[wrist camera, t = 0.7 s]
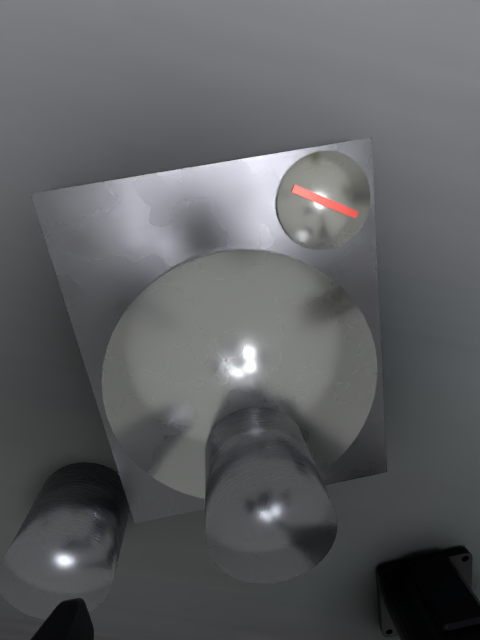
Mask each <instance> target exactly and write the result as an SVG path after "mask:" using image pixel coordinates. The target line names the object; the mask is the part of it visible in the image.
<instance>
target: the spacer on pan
mask: <svg viewBox="0 0 480 640" xmlns="http://www.w3.org/2000/svg"><path fill="white" fill-rule="evenodd" d="M205 508H206V545H207V549H208V552H209V555H210V557H211V559H212V560H213V562H214V563H215V564H216V566H217V567H218V568H220V569H221V570H222V571H223V572H224V573H226V574H227V575H229V576H231V577H233V578H235V579H238V580H240V581H244V582H248V583H254V584H273V583H279V582H284V581H287V580H290V579H293V578H296V577H298V576H300V575H302V574H304V573H306V572H307V571H309V570H311V569H312V568H313V567H315V566H316V565H317V564H318V563H319V562H320V561H321V560H322V559H323V558H324V557H325V556H326V555H327V553H328V552H329V550H330V549H331V547H332V545H333V543H334V540H335V537H336V533H337V517H336V513H335V510H334V508H333V505H332V503H331V501H330V498H329V496H328V494H327V491H326V489H325V487H324V484H323V482H322V480H321V477H320V475H319V473H318V470H317V468H316V466H315V463H314V461H313V459H312V456H311V454H310V452H309V449H308V447H307V445H306V442H305V440H304V438H303V435H302V433H301V431H300V429H299V427H298V426H297V424H296V423H295V422H294V421H293V420H292V419H291V418H290V417H289V416H287V415H286V414H284V413H282V412H280V411H278V410H275V409H272V408H267V407H250V408H245V409H241V410H238V411H235V412H233V413H231V414H229V415H228V416H226V417H225V418H223V419H222V420H221V421H220V422H219V423H218V424H217V425H216V426H215V427H214V428H213V430H212V431H211V433H210V435H209V437H208V439H207V442H206V446H205Z"/></svg>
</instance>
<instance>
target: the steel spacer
mask: <svg viewBox="0 0 480 640" xmlns="http://www.w3.org/2000/svg"><path fill="white" fill-rule="evenodd" d="M129 509H130V507H129V504H128V501H127V497H126V494H125V491H124V488H123V485H122V482H121V479H120V475H119V474H118V473H117V472H115V471H114V470H112V469H110V468H108V467H106V466H103V465H100V464H95V463H75V464H71V465H67V466H65V467H62V468H61V469H59V470H57V471H56V472H54V473H53V474H52V475H51V476H50V477H49V478H48V479H47V481H46V483H45V484H44V486H43V488H42V490H41V492H40V493H39V495H38V497H37V499H36V501H35V502H34V504H33V506H32V508H31V510H30V512H29V513H28V515H27V517H26V519H25V521H24V522H23V524H22V526H21V528H20V530H19V531H18V533H17V535H16V537H15V539H14V541H13V542H12V544H11V546H10V548H9V550H8V551H7V553H6V555H5V557H4V559H3V561H2V562H1V564H0V592H1V593H2V595H3V597H4V598H5V599H6V600H7V602H8V603H10V604H11V605H12V606H13V607H14V608H16V609H17V610H19V611H21V612H23V613H25V614H27V615H30V616H33V617H36V618H41V619H47V618H48V617H49V615H50V614H51V613H52V612H53V610H54V609H55V608H56V606H57V605H58V604H59V603H61V602H62V601H65V600H70V599H76V598H82V599H83V600H84V601H85V603H86V606H87V609H88V612H91V611H92V610H94V609H95V608H97V607H98V606H99V605H100V604H101V603H102V602H103V601H104V600H105V599H106V597H107V596H108V594H109V592H110V590H111V587H112V583H113V578H114V574H115V570H116V566H117V561H118V557H119V553H120V548H121V544H122V540H123V535H124V531H125V527H126V522H127V518H128V514H129Z"/></svg>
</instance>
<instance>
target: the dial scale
mask: <svg viewBox="0 0 480 640" xmlns="http://www.w3.org/2000/svg"><path fill="white" fill-rule="evenodd" d="M31 197H32V201H33V204H34V207H35V210H36V213H37V216H38V220H39V223H40V226H41V229H42V232H43V235H44V238H45V242H46V245H47V248H48V251H49V254H50V257H51V261H52V264H53V267H54V270H55V273H56V276H57V280H58V283H59V286H60V289H61V292H62V295H63V298H64V302H65V305H66V308H67V311H68V314H69V317H70V321H71V324H72V327H73V330H74V333H75V336H76V340H77V343H78V346H79V349H80V352H81V355H82V359H83V362H84V365H85V368H86V371H87V374H88V377H89V381H90V384H91V387H92V390H93V393H94V396H95V400H96V403H97V406H98V409H99V412H100V415H101V419H102V422H103V425H104V428H105V431H106V434H107V437H108V441H109V444H110V447H111V450H112V453H113V456H114V460H115V463H116V466H117V469H118V472H119V475H120V479H121V482H122V485H123V488H124V491H125V494H126V497H127V501H128V504H129V507H130V510H131V513H132V516H133V520H134V523H140V522H145V521H150V520H155V519H160V518H165V517H170V516H174V515H179V514H184V513H189V512H194V511H199V510H204V509H206V508H205V446H206V442H207V439H208V437H209V435H210V433H211V431H212V430H213V428H214V427H215V426H216V425H217V424H218V423H219V422H220V421H221V420H222V419H223V418H225V417H226V416H228V415H229V414H231V413H233V412H235V411H238V410H241V409H245V408H250V407H267V408H272V409H275V410H278V411H280V412H282V413H284V414H286V415H287V416H289V417H290V418H291V419H292V420H293V421H294V422H295V423H296V424H297V426H298V427H299V429H300V431H301V433H302V435H303V438H304V440H305V442H306V445H307V447H308V449H309V452H310V454H311V456H312V459H313V461H314V463H315V466H316V468H317V470H318V473H319V475H320V477H321V480H322V482H323V484H324V485H326V484H331V483H336V482H341V481H346V480H351V479H356V478H361V477H366V476H371V475H375V474H380V473H385V472H387V461H386V439H385V417H384V395H383V373H382V351H381V329H380V308H379V286H378V264H377V242H376V220H375V198H374V176H373V154H372V138H367V139H360V140H354V141H348V142H342V143H336V144H330V145H324V146H318V147H312V148H306V149H300V150H293V151H287V152H281V153H275V154H269V155H263V156H257V157H251V158H245V159H239V160H233V161H227V162H220V163H214V164H208V165H202V166H196V167H190V168H184V169H178V170H172V171H166V172H160V173H154V174H147V175H141V176H135V177H129V178H123V179H117V180H111V181H105V182H99V183H93V184H87V185H80V186H74V187H68V188H62V189H56V190H50V191H44V192H38V193H32V194H31Z"/></svg>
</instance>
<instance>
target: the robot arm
mask: <svg viewBox="0 0 480 640" xmlns="http://www.w3.org/2000/svg"><path fill="white" fill-rule="evenodd" d="M471 577H472V555H471V553H470V552H469V551H468V550H467V549H466V548H460V549H455V550H450V551H446V552H441V553H436V554H432V555H427V556H422V557H418V558H413V559H408V560H404V561H399V562H394V563H390V564H385V565H382V566H380V567H378V569H377V588H378V604H379V620H380V629H381V631H382V634H383V636H385V637H391V636H395V635H399V637H400V639H401V640H480V601H479V600H478V598H477V597H476V595H475V594H474V592H473V591H472V589H471ZM31 640H94V629H93V624H92V621H91V618H90V615H89V612H88V609H87V606H86V603H85V601H84V600H83V599H82V598H76V599H70V600H65V601H62V602H61V603H59V604H58V605H57V606H56V608H55V609H54V610H53V612H52V613H51V614H50V615H49V617H48V618H47V619H46V621H45V622H44V623H43V624H42V626H41V627H40V628H39V630H38V631H37V632H36V633H35V635H34V636H33V637H32V639H31Z"/></svg>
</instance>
